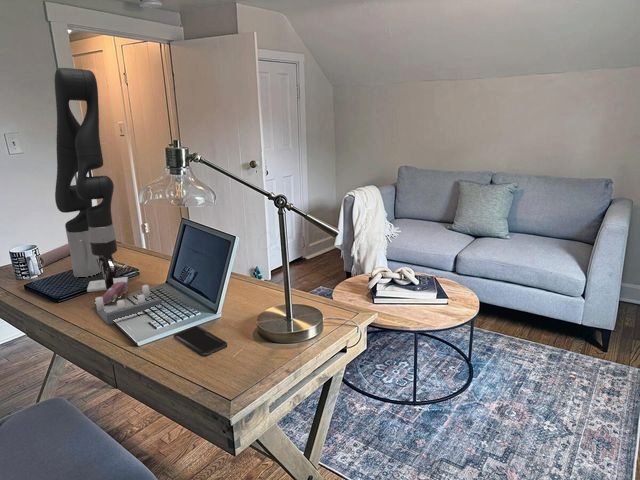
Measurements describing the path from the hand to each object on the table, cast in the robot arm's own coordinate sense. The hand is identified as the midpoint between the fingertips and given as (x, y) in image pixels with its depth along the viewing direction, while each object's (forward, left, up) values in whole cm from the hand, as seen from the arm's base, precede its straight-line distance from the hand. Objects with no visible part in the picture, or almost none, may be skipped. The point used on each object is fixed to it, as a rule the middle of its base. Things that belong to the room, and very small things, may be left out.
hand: (110, 288), depth 151 cm
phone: (+49, +7, -3) cm, 49 cm away
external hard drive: (-9, +2, -3) cm, 10 cm away
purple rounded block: (+5, 0, -2) cm, 6 cm away
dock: (+17, 0, -2) cm, 17 cm away
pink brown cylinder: (-53, -4, -2) cm, 53 cm away
